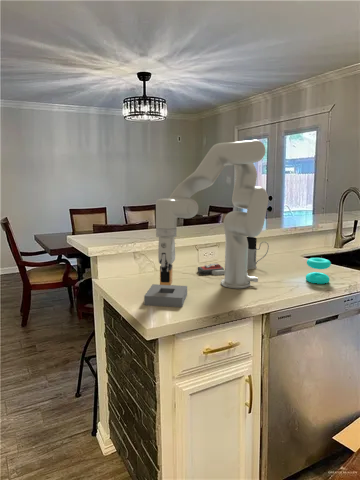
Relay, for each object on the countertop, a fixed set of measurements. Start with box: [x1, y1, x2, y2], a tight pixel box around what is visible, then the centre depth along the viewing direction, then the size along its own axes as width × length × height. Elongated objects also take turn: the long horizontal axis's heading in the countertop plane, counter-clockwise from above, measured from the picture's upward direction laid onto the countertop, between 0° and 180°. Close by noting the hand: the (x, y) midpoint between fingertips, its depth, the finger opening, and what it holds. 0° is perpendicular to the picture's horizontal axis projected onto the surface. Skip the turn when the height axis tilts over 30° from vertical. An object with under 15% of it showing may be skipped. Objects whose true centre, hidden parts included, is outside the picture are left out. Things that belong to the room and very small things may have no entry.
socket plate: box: [143, 283, 188, 308], centre depth 140 cm, size 14×14×4 cm
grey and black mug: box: [246, 236, 270, 270], centre depth 185 cm, size 9×14×15 cm, turn 70°
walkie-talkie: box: [197, 262, 225, 276], centre depth 177 cm, size 9×4×20 cm
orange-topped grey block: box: [159, 263, 173, 285], centre depth 138 cm, size 4×4×7 cm
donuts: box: [305, 257, 332, 285], centre depth 162 cm, size 10×10×10 cm
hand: (166, 279), depth 138 cm, fingers closed on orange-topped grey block, 4 cm apart
